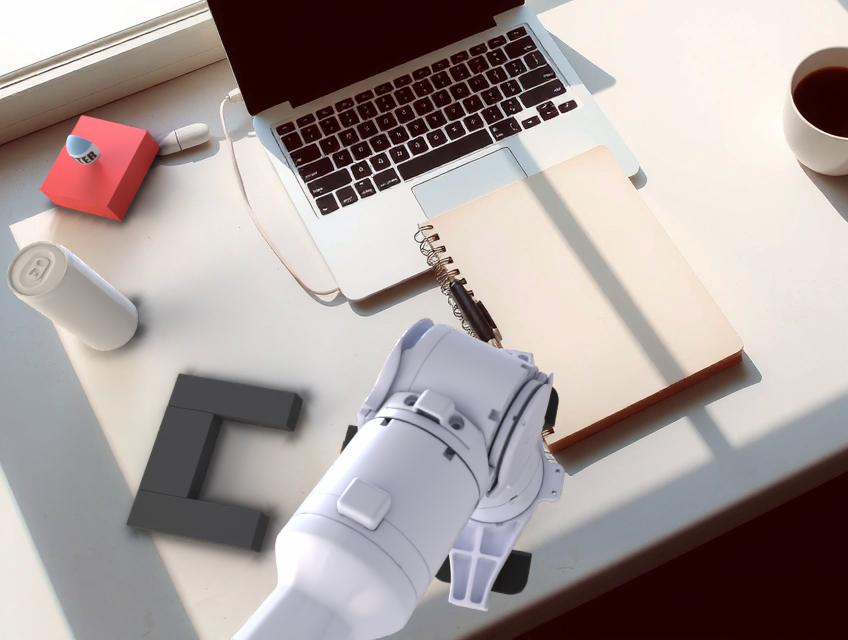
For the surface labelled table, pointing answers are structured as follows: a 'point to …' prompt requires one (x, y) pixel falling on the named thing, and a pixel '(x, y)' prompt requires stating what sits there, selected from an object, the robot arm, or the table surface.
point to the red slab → (100, 167)
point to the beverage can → (72, 295)
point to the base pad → (204, 461)
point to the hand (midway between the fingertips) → (506, 500)
